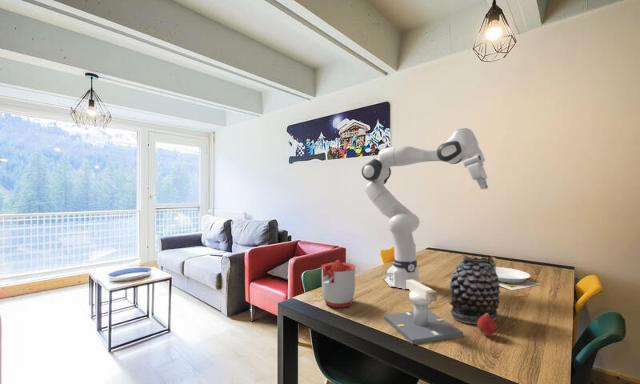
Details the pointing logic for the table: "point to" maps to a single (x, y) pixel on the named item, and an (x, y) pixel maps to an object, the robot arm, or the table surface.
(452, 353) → the table surface
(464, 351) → the table surface
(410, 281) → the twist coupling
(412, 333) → the lock base
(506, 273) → the white plate
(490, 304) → the pineapple fairy house
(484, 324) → the onion
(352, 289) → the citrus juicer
